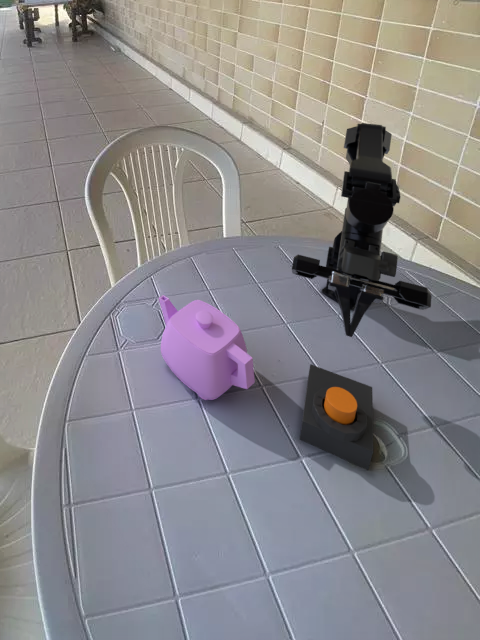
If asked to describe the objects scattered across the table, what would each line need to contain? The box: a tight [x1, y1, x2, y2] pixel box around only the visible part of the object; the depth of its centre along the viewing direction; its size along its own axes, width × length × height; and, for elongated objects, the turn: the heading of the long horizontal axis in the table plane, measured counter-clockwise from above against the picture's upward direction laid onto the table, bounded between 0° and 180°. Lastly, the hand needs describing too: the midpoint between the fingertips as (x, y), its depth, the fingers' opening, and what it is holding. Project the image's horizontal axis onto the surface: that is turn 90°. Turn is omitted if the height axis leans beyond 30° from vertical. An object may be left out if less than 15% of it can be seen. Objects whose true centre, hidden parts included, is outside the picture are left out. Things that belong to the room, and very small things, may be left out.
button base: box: [299, 364, 374, 471], centre depth 66 cm, size 11×9×6 cm
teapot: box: [158, 294, 256, 401], centre depth 75 cm, size 20×12×13 cm, turn 37°
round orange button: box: [324, 387, 357, 425], centre depth 63 cm, size 4×4×3 cm
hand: (348, 336), depth 66 cm, fingers closed
